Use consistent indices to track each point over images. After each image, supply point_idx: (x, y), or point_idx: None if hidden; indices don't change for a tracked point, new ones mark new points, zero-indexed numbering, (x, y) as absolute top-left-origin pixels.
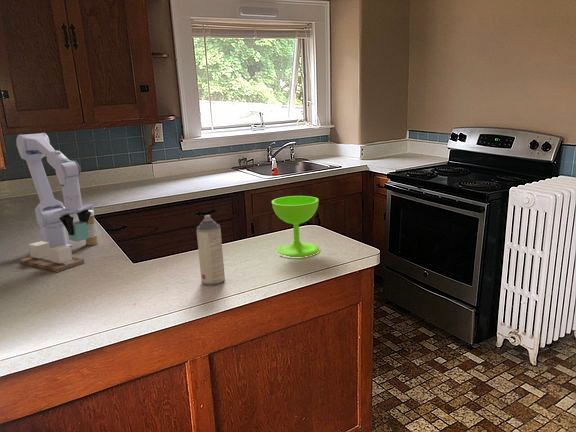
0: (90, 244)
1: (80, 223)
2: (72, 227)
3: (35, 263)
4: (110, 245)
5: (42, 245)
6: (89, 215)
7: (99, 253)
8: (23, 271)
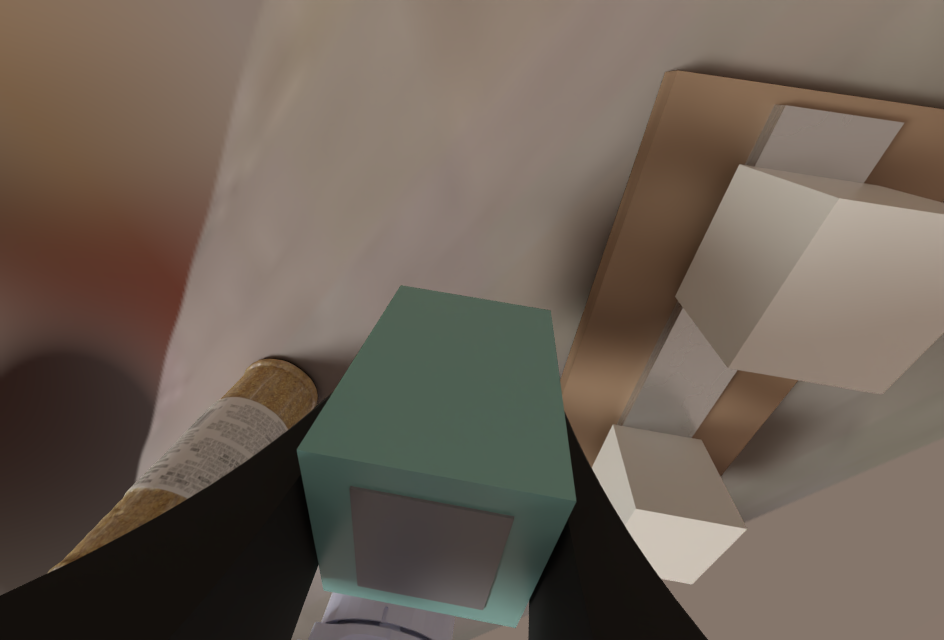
0: (305, 378)
1: (421, 492)
2: (579, 498)
3: (775, 407)
4: (221, 249)
5: (694, 512)
6: (62, 584)
7: (393, 171)
8: (859, 398)
